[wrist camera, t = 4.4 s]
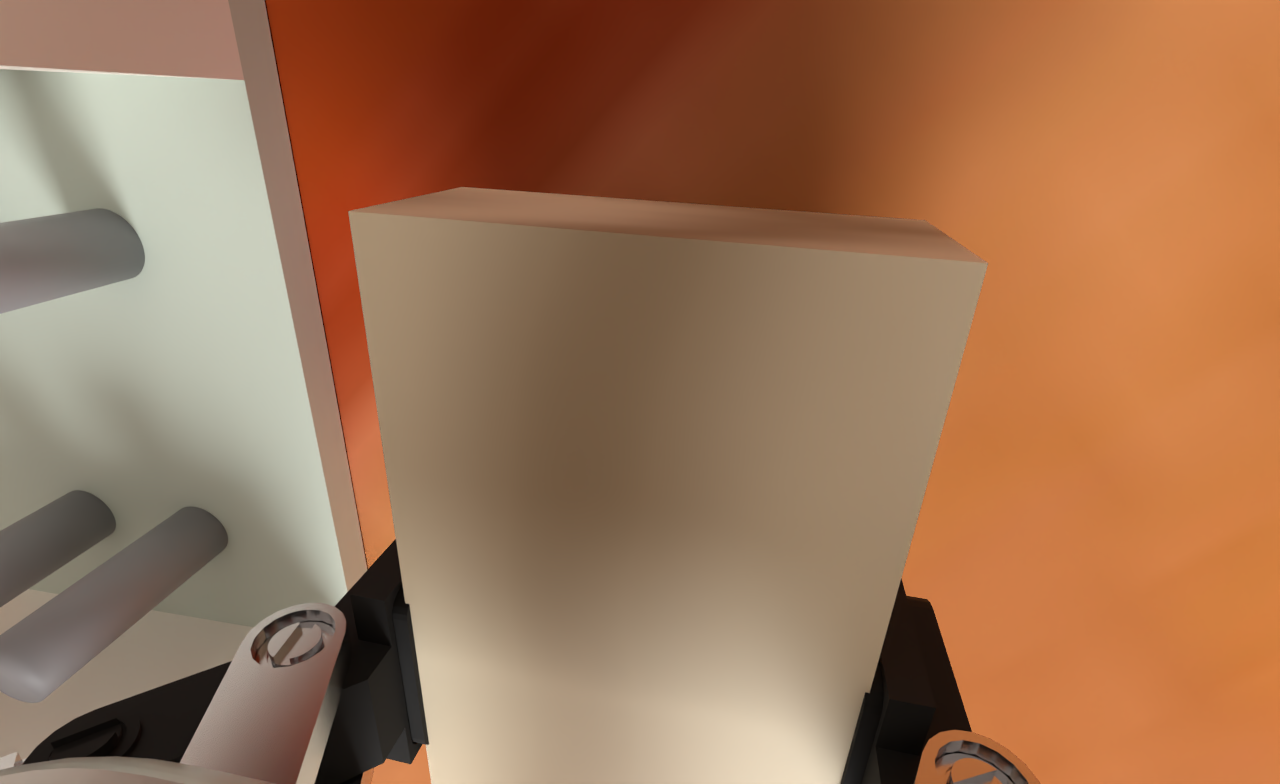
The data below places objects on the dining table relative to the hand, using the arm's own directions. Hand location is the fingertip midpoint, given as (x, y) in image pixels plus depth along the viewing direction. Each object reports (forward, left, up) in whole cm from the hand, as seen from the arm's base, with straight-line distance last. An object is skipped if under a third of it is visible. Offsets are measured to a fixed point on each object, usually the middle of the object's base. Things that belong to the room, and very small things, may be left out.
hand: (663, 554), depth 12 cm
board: (0, 0, +1) cm, 1 cm away
